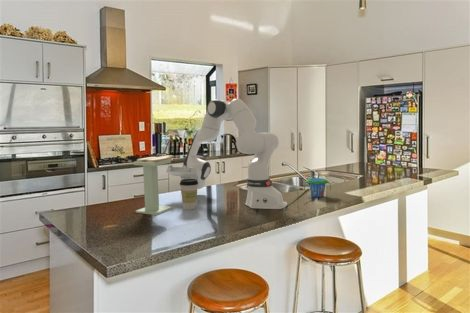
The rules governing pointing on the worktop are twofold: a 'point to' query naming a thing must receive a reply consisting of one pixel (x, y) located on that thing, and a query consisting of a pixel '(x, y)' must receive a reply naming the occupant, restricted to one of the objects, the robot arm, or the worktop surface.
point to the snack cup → (317, 186)
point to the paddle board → (155, 159)
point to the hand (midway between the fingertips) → (176, 166)
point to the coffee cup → (189, 193)
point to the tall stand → (152, 188)
